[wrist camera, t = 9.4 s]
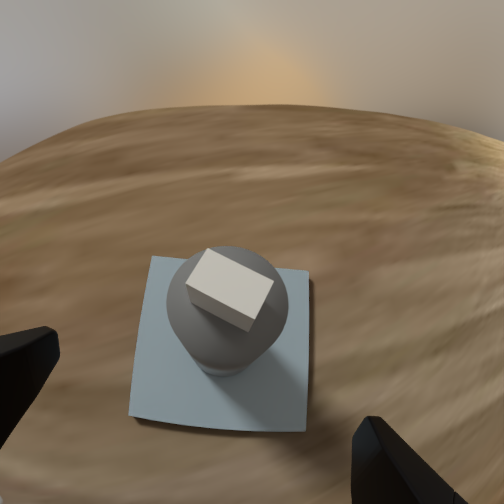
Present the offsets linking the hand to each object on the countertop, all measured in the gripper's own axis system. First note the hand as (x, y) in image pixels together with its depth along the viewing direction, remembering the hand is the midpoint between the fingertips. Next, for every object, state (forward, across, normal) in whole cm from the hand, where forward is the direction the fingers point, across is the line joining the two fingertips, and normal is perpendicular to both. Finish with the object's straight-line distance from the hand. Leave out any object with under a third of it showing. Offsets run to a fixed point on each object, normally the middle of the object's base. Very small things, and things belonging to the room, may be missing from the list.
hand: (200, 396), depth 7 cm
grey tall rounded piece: (+12, 0, +6) cm, 13 cm away
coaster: (+12, 0, +7) cm, 14 cm away
